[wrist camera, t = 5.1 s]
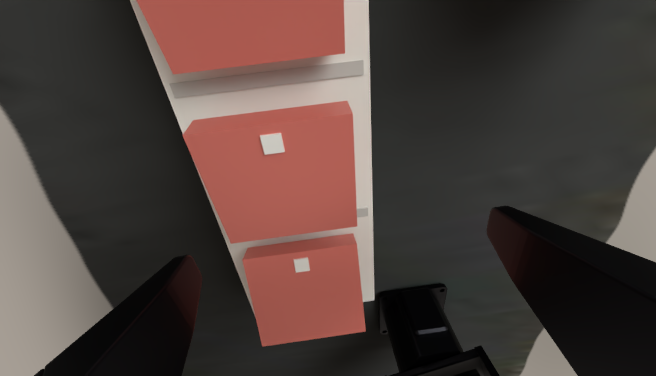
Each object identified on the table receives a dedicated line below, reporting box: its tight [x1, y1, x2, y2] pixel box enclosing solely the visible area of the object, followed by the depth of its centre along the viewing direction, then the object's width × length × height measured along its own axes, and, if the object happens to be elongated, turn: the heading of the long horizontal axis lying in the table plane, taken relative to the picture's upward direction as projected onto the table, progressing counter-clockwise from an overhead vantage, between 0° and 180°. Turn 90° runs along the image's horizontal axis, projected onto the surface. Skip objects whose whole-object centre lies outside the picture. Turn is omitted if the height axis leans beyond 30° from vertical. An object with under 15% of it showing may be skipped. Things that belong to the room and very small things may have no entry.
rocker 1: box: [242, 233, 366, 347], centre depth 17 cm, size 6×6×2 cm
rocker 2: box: [182, 101, 357, 244], centre depth 13 cm, size 6×6×2 cm
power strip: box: [130, 0, 374, 315], centre depth 17 cm, size 28×9×4 cm, turn 6°
